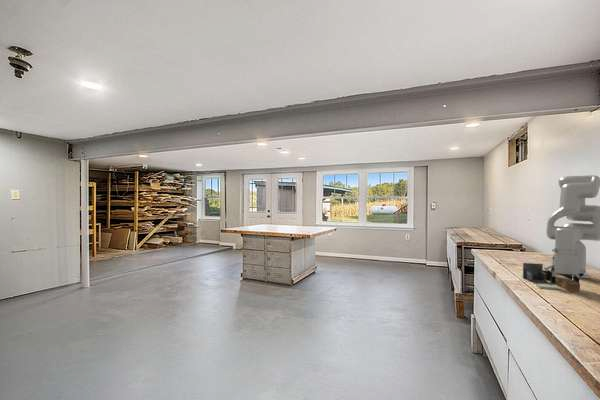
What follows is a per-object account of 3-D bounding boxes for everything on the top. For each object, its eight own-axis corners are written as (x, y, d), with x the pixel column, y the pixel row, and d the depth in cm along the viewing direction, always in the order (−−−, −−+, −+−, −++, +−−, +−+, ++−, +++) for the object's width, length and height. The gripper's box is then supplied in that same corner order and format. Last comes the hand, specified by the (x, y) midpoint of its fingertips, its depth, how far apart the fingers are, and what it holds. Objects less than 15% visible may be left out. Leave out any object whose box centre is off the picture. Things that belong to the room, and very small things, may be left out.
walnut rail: (550, 282, 157) (550, 273, 157) (559, 283, 156) (559, 274, 156) (570, 292, 141) (570, 282, 141) (579, 293, 140) (579, 283, 140)
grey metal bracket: (522, 278, 165) (522, 262, 165) (541, 279, 163) (541, 263, 162) (528, 281, 158) (528, 265, 158) (548, 283, 156) (548, 266, 156)
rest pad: (536, 286, 151) (536, 284, 151) (554, 287, 148) (554, 285, 148) (540, 288, 147) (540, 286, 147) (559, 289, 144) (559, 287, 144)
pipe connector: (539, 266, 173) (573, 271, 161) (539, 274, 173) (573, 280, 161) (535, 269, 165) (571, 275, 154) (535, 278, 165) (571, 284, 154)
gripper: (548, 252, 147) (548, 284, 148) (590, 254, 142) (590, 288, 142) (541, 249, 155) (540, 280, 155) (580, 251, 149) (580, 283, 149)
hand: (564, 284), depth 148 cm, fingers open, 9 cm apart
